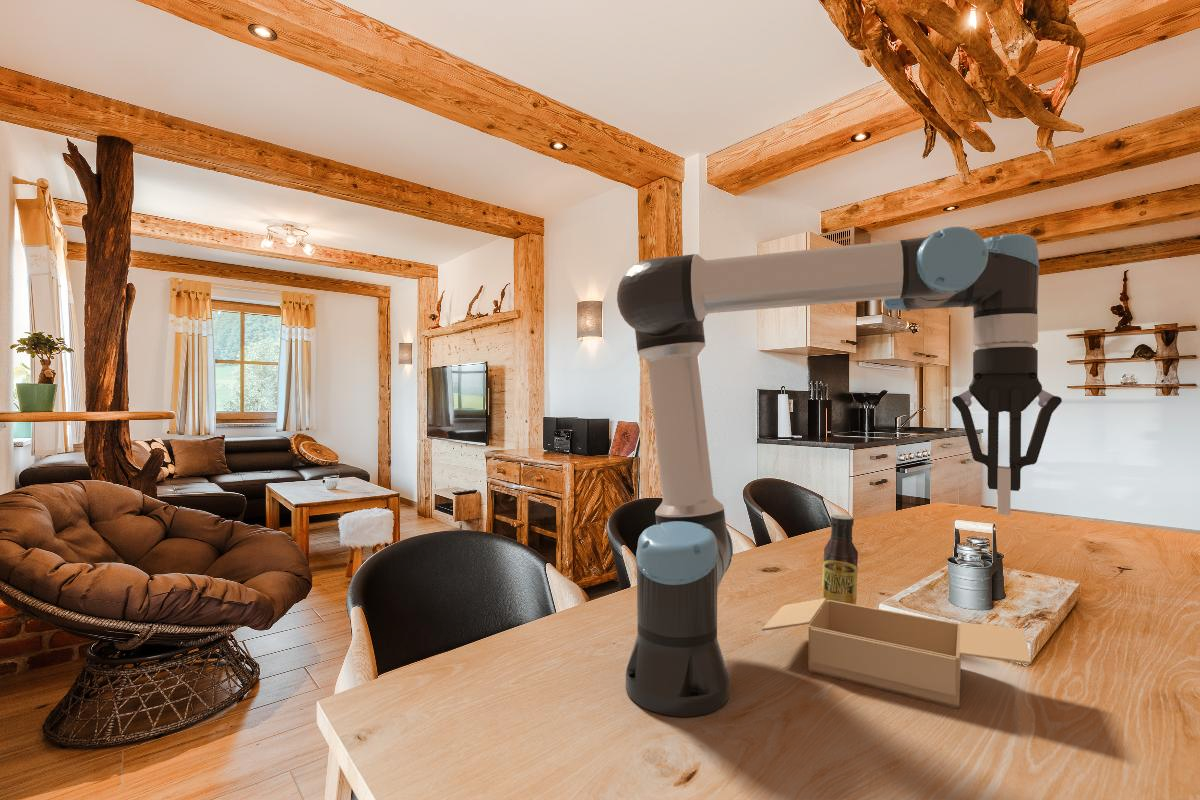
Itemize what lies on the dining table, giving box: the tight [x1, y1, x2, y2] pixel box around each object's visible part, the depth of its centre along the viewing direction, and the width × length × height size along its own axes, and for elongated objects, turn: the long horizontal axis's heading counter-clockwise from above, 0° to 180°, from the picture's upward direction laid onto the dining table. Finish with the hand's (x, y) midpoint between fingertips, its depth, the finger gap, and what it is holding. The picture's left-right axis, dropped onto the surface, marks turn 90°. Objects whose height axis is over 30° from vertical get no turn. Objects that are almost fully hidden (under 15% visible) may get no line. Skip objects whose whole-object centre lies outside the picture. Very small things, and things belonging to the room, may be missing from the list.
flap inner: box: [761, 598, 827, 632], centre depth 98 cm, size 13×1×8 cm
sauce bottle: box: [820, 514, 859, 608], centre depth 111 cm, size 6×6×20 cm
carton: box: [807, 600, 962, 710], centre depth 90 cm, size 15×20×7 cm
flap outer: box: [959, 621, 1032, 665], centre depth 83 cm, size 13×1×8 cm
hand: (1003, 512), depth 82 cm, fingers closed
